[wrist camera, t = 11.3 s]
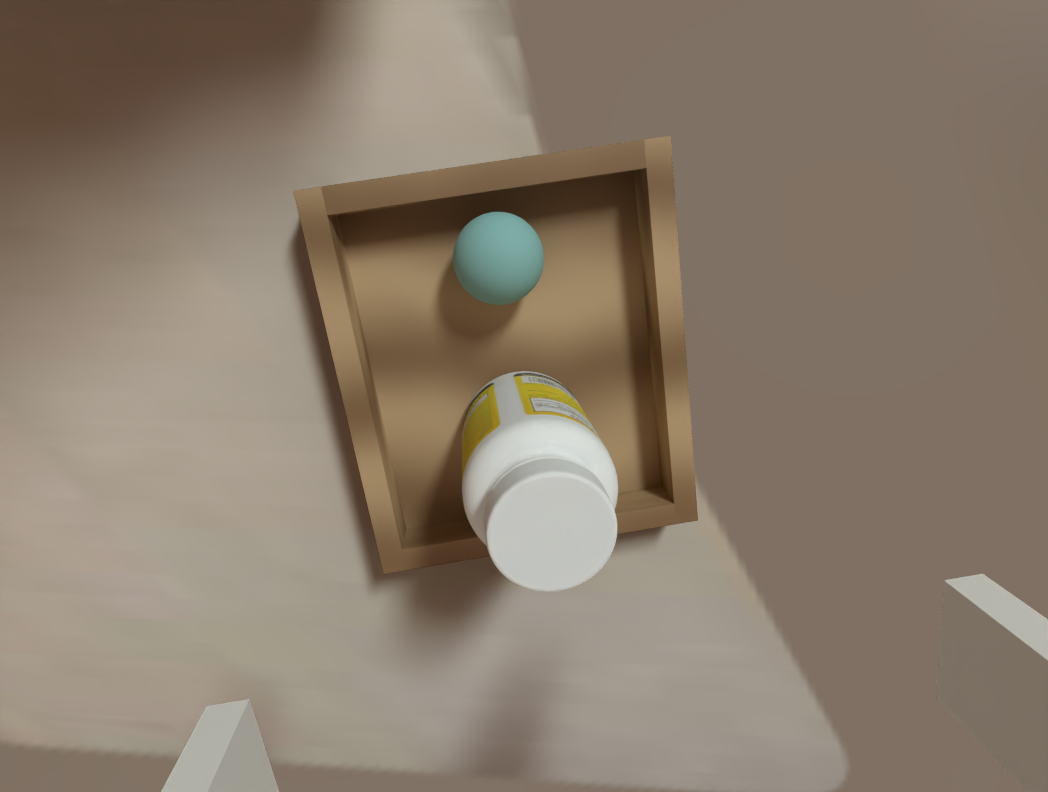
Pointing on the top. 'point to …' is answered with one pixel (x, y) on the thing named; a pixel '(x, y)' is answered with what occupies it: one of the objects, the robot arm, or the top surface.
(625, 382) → the tray
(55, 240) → the top surface
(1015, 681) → the robot arm
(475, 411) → the supplement bottle
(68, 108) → the top surface
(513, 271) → the ball
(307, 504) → the top surface
